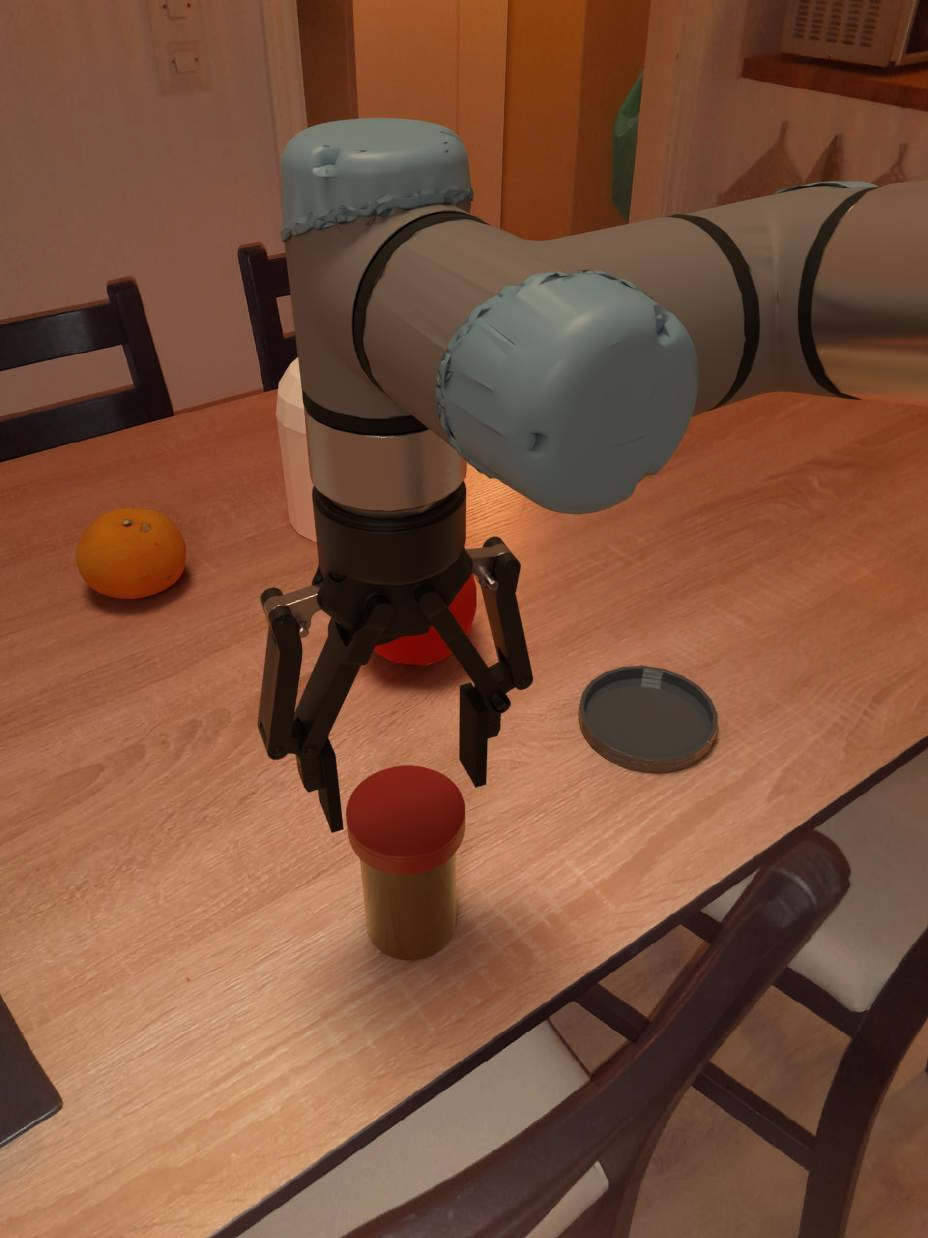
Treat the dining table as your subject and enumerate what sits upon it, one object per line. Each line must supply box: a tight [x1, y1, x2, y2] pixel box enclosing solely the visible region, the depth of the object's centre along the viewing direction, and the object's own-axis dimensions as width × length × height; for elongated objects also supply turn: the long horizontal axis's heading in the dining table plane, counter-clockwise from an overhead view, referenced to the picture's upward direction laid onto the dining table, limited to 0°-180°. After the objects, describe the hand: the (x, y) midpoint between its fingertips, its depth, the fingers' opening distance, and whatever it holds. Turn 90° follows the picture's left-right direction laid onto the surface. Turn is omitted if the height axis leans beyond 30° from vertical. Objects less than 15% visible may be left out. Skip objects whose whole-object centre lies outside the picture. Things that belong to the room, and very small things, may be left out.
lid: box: [345, 764, 466, 875], centre depth 62 cm, size 8×8×2 cm
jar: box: [359, 852, 457, 961], centre depth 65 cm, size 6×6×12 cm
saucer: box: [577, 665, 719, 774], centre depth 84 cm, size 12×12×2 cm
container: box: [275, 356, 317, 543], centre depth 106 cm, size 14×13×20 cm
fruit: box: [75, 507, 187, 600], centre depth 98 cm, size 10×10×8 cm
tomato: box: [374, 574, 478, 667], centre depth 88 cm, size 12×12×13 cm
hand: (403, 792), depth 61 cm, fingers open, 9 cm apart
